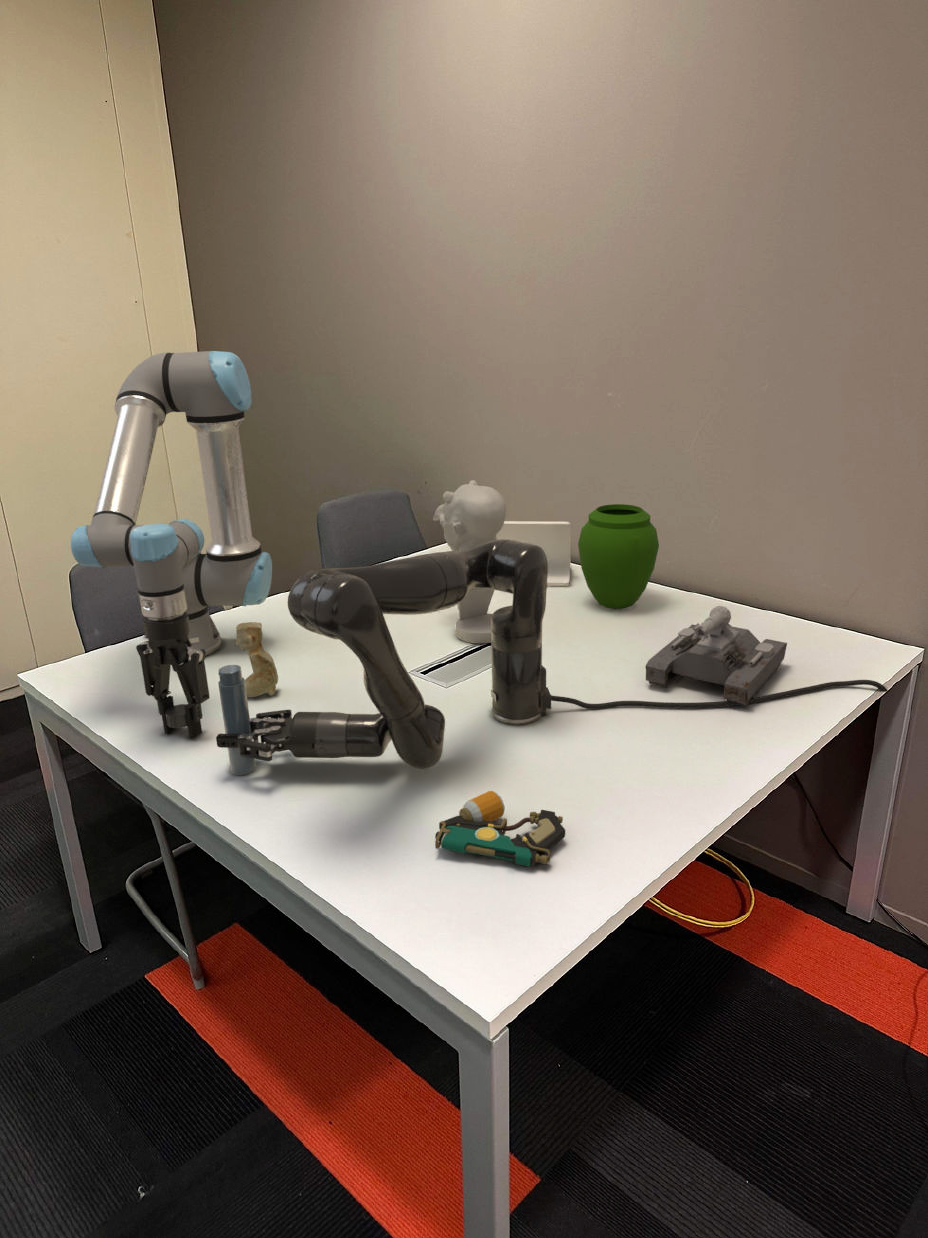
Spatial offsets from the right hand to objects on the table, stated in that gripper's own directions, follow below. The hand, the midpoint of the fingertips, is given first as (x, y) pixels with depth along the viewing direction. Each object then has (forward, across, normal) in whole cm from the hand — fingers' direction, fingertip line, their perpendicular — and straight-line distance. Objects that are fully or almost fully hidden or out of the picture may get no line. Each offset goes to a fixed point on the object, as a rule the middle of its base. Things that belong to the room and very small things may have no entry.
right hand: (222, 733), depth 142 cm
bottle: (-3, 0, +7) cm, 7 cm away
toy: (-88, -39, +7) cm, 97 cm away
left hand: (+13, -12, +7) cm, 19 cm away
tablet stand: (-49, -106, +7) cm, 117 cm away
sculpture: (+3, -29, +7) cm, 30 cm away
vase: (-72, -82, +7) cm, 109 cm away
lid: (+13, -12, +2) cm, 18 cm away
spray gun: (-47, +19, +7) cm, 51 cm away
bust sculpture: (-37, -64, +7) cm, 74 cm away
